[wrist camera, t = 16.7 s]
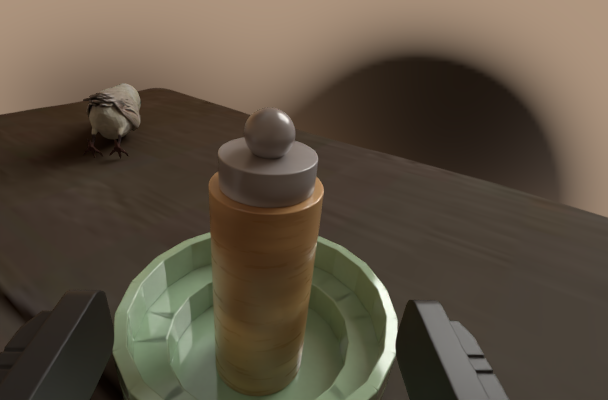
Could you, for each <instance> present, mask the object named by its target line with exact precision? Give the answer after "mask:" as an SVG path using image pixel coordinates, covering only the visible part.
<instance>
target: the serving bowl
mask: <svg viewBox="0 0 608 400" xmlns="http://www.w3.org/2000/svg"><path fill="white" fill-rule="evenodd" d="M397 330H398V319H397V316H396V313H395V311H394V308H393V305H392V302H391V300H390V297H389V294H388V291H387V289H386V288H385V286H384V285H383V284H382V283H381V281H380V280H379V279H378V278H377V276H376V275H375V274H374V273H373V271H372V270H371V269H370V268H369V266H368V265H367V264H366V263H364V262H363V261H362V260H360V259H359V258H358V257H356V256H355V255H354V254H352V253H351V252H349V251H348V250H347V249H345V248H344V247H342V246H340V245H338V244H336V243H333V242H331V241H329V240H326V239H324V238H322V237H320V236H318V239H317V247H316V254H315V262H314V269H313V277H312V284H311V291H310V299H309V306H308V314H307V321H306V329H305V336H304V344H303V351H302V358H301V365H300V368H299V371H298V373H297V375H296V376H295V378H294V379H293V380H292V382H291V383H290V384H289V385H287V386H286V387H285V388H283V389H282V390H280V391H278V392H276V393H273V394H270V395H265V396H248V395H244V394H241V393H238V392H236V391H234V390H233V389H231V388H230V387H228V386H227V385H226V384H225V383H224V382H223V380H222V379H221V377H220V376H219V374H218V371H217V368H216V357H215V332H214V308H213V283H212V259H211V234H210V232H209V233H206V234H203V235H200V236H197V237H194V238H191V239H188V240H186V241H183V242H182V243H180V244H178V245H177V246H175V247H173V248H171V249H170V250H168V251H166V252H165V253H163V254H161V255H159V256H158V257H156V258H155V259H154V260H153V261H152V262H151V263H150V264H149V265H148V266H147V267H146V268H145V269H144V270H143V271H142V272H141V273H140V274H139V275H138V276H137V277H136V278H135V279H134V280H133V281H132V282H131V283H130V285H129V287H128V289H127V291H126V293H125V295H124V297H123V299H122V301H121V303H120V305H119V307H118V309H117V311H116V312H115V316H114V345H113V349H112V354H113V358H114V362H115V366H116V370H117V374H118V378H119V382H120V386H121V390H122V394H123V398H124V400H382V397H383V394H384V391H385V388H386V384H387V382H388V379H389V376H390V373H391V369H392V366H393V363H394V360H395V357H396V349H395V343H396V336H397Z"/></svg>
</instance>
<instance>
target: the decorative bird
mask: <svg viewBox="0 0 608 400" xmlns="http://www.w3.org/2000/svg"><path fill="white" fill-rule="evenodd" d="M83 101H89V104H88V105H87V114H88V117H89V120H90V122H91V125H92V143H91V142H90V140H88V139H87V141H88V145H89V146H88V149H87V150H86V151H85V152H84V154H83V155H85V154H86V153H87V152H89V151H91V152H92V153H93V155H94V158H95V151H96V152H98V153H100V154H101V155H102V153H101V152H100V151H99V150H97V149H95V147H94V143H95V135H96V134H97V132H100V134H101V135H102V136H104V137H105V138H107V139H118V143H117V141H116V140H114V141H115V147H114V150H112V152H111V153H110V155H111V154H112V153H114V152H115V151H117V152H118V154H119V156H120V158H121V152H123V153H125V154H126V155H127V156H128V154H127V153H126V152H125V151H124V150H123V149H122V148H121V147H120V143H121V137H124V136H125V135H126V134H128V133H129V132H130V131H131V130H133V131H135V130H136V129H137V128H138V127H139V125H140V115H139V109H140V104H141V100H140V97H139V95H138V92H137V91H136V90H135V89H134V88H133V87H132V86H130V85H128V84H124V83H123V84H119V85H117V86H116V87H112V88H109V89H105V90H103V91H101V92H99V93H96V94H94V95H91V96H90V98H86V99H84V100H83ZM110 155H109V156H110ZM102 156H103V155H102ZM128 157H129V156H128Z"/></svg>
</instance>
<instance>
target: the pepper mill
mask: <svg viewBox="0 0 608 400" xmlns="http://www.w3.org/2000/svg"><path fill="white" fill-rule="evenodd" d="M294 140H295V128H294V125H293V122H292V120H291V119H290V118H289V116H287V114H285V113H284V112H283V111H281V110H279V109H276V108H262V109H260V110H257V111H256V112H254V113H253V114H252V115H251V116H250V117H249V118H248V120H247V122H246V124H245V128H244V138H239V139H235V140H232V141H229V142H227V143H225V144H224V145H222V146H221V147H220V149H219V151H218V172H217V173H216V174H214V175H213V177H212V178H211V180H210V182H209V210H210V234H211V259H212V283H213V308H214V332H215V357H216V368H217V371H218V374H219V376H220V377H221V379H222V380H223V382H224V383H225V384H226V385H227V386H228V387H230V388H231V389H233V390H234V391H236V392H238V393H241V394H244V395H248V396H265V395H270V394H273V393H276V392H278V391H280V390H282V389H283V388H285V387H286V386H287V385H289V384H290V383H291V382H292V380H293V379H294V378H295V376H296V375H297V373H298V371H299V368H300V365H301V358H302V351H303V344H304V336H305V329H306V321H307V314H308V306H309V299H310V291H311V284H312V277H313V269H314V262H315V254H316V247H317V239H318V232H319V224H320V217H321V210H322V202H323V195H324V188H323V185H322V183H321V182H320V180H319V179H318V178H317V177H316V174H317V165H318V156H317V154H316V152H315V151H314V150H313V149H312V148H310V147H309V146H307V145H305V144H303V143H300V142H297V141H294Z"/></svg>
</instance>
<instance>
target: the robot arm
mask: <svg viewBox="0 0 608 400" xmlns="http://www.w3.org/2000/svg"><path fill="white" fill-rule="evenodd" d="M113 345H114V328H113V324H112V319H111V315H110V311H109V307H108V302H107V298H106V294H105V293H104V291H101V290H69V291H67V292H66V293H65V294H64V295H63V297H62V298H61V299H60V301H59V302H58V304H57V305H56V306H55V308H54V309H53V311H41V312H40V313H39V314H37V315H36V316H35V317H33V318H32V319H31V320H29V321H28V322H27V323H25V324H24V325H23V326H21V327H20V328H19V330H18V331H17V332H16V333H15V335H14V336H13V337H12V339H11V340H10V341H9V342H8V344H7V345H6V346H5V349H4V351H3V352H1V353H0V400H90V399H91V396H92V394H93V392H94V390H95V388H96V386H97V384H98V381H99V379H100V377H101V375H102V373H103V371H104V369H105V366H106V364H107V362H108V360H109V358H110V356H111V353H112V349H113ZM395 349H396V357H397V361H398V364H399V368H400V371H401V374H402V377H403V380H404V383H405V386H406V389H407V393H408V396H409V399H410V400H509V398H508V396H507V394H506V393H505V391H504V389H503V387H502V386H501V384H500V382H499V380H498V379H497V377H496V375H494V374H493V370H492V368H491V366H490V364H489V363H488V361H487V359H485V358H484V354H483V352H482V350H481V348H480V347H479V345H478V343H477V341H476V340H475V338H474V336H473V335H472V334H471V333H470V332H469V331H468V330H467V329H466V328H464V327H463V326H462V325H461V324H460V323H459V322H458V321H449V319H448V317H447V315H446V313H445V311H444V309H443V307H442V305H441V304H440V303H439V302H438V301H433V300H409V301H408V302H407V305H406V308H405V311H404V314H403V317H402V320H401V323H400V327H399V330H398V333H397V336H396V343H395Z"/></svg>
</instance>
